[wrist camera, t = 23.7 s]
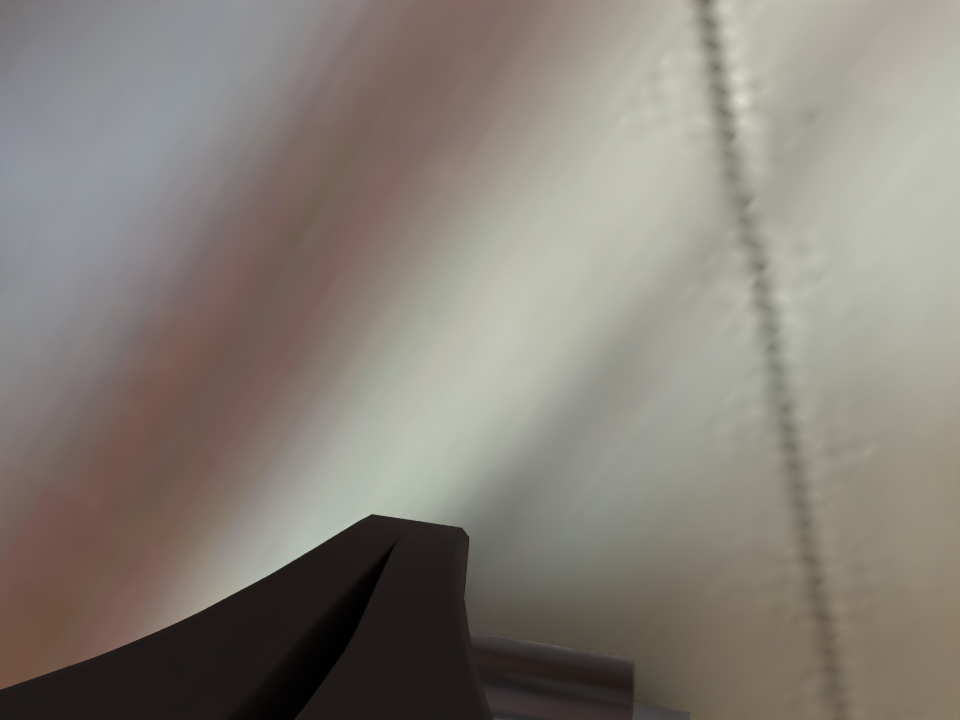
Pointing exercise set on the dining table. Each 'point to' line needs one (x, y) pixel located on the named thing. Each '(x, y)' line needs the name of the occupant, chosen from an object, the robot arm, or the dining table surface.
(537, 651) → the grey wooden drawer
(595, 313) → the dining table surface
